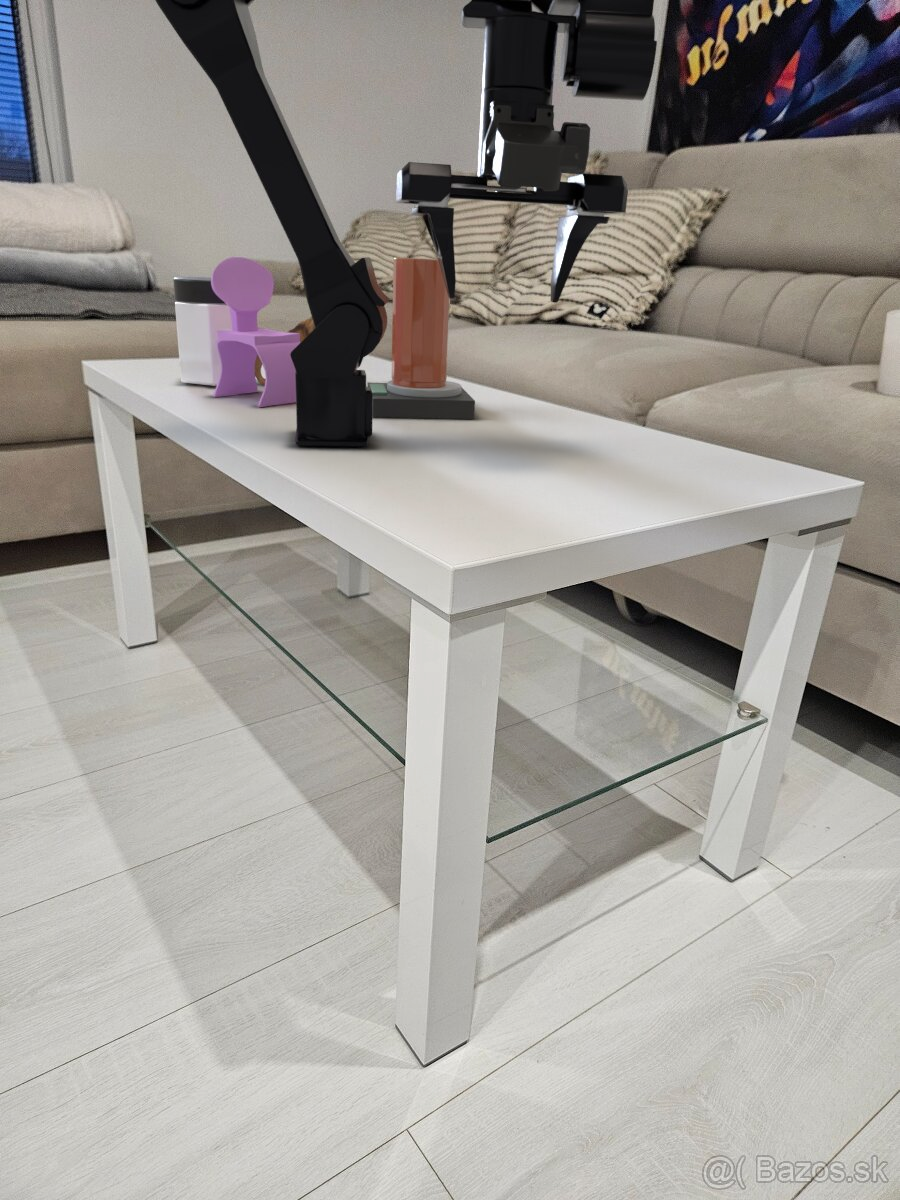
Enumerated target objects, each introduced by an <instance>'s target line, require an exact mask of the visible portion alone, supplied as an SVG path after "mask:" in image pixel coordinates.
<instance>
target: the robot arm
mask: <svg viewBox="0 0 900 1200" xmlns="http://www.w3.org/2000/svg"><path fill="white" fill-rule="evenodd" d="M154 1H155V3H156V4H157V6H158V8H159V9H160V11H161V12H162V13H163V15H164V17H165V18H166V19H167V21H168V22H169V24H170V25H171V27H172V28H173V30H174V31H175V33H176V34H177V36H178V37H179V38H180V40H181V42H182V43H183V44H184V46H185V47H186V48H187V50H188V51H189V52H190V54H191V56H192V57H193V58H194V59H195V60H196V62H197V63H198V65H199V66H200V67H201V69H202V70H203V71H204V73H205V74H206V76H207V77H208V78H209V80H210V82H211V83H212V84H213V86H214V87H215V89H216V90H217V92H218V95H219V97H220V99H221V101H222V103H223V106H224V107H225V110H226V112H227V114H228V115H229V117H230V120H231V121H232V122H231V123H232V124H233V126H234V128H235V130H236V132H237V134H238V136H239V139H240V141H241V143H242V145H243V147H244V149H245V151H246V153H247V155H248V157H249V159H250V161H251V164H252V165H253V168H254V170H255V172H256V174H257V176H258V178H259V180H260V183H261V184H262V187H263V189H264V191H265V193H266V195H267V197H268V200H269V201H270V204H271V205H272V208H273V210H274V212H275V214H276V216H277V219H278V221H279V223H280V224H281V227H282V229H283V231H284V233H285V235H286V238H287V239H288V241H289V244H290V246H291V248H292V250H293V252H294V254H295V256H296V258H297V262H298V264H299V268H300V274H301V279H302V283H303V288H304V292H305V297H306V301H307V305H308V307H309V311H310V315H311V316H312V319H313V322H314V326H315V329H314V330H313V331H312V332H311V333H310V334H309V335H308V336H307V337H306V338H305V339H304V340H303V341H302V342H301V343H300V344H299V345H298V346H297V347H296V348H295V349H294V350H293V351H292V352H291V354H290V356H291V359H292V362H293V364H294V367H295V370H296V372H295V382H296V402H295V417H296V429H295V437H294V445H296V446H301V447H302V446H307V447H308V446H309V447H310V446H311V447H312V446H313V447H368V446H369V439H368V438H370V437H372V436H373V416H372V412H373V393H372V390H371V388H370V387H368V386H367V373H366V370H365V369H358V368H360V367H361V365H362V363H363V361H364V358H365V357H367V356H368V355H370V354H371V353H372V352H374V350H375V349H376V348H377V347H378V345H379V344H380V342H381V341H382V340H383V338H384V336H385V333H386V330H387V326H388V315H387V311H386V307H385V306H386V304H388V303H389V302H390V298H389V297H388V296H387V294H386V293H385V292H383V290H382V289H381V286H380V285H379V283H378V280H377V277H376V273H375V269H374V266H373V261H372V258H371V257H370V256H366V257H361V258H360V259H358V260H357V261H356V262H355V261H354V259H353V257H352V256H351V255H350V254H349V252H348V251H347V249H346V248H345V247H344V245H343V244H342V242H341V240H340V238H339V236H338V233H337V232H336V229H335V227H334V224H333V222H332V219H330V217H329V214H328V212H327V210H326V208H325V205H324V203H323V201H322V199H321V196H320V194H319V192H318V190H317V188H316V185H315V183H314V181H313V179H312V177H311V174H310V172H309V169H308V168H307V165H306V163H305V161H304V159H303V157H302V155H301V152H300V150H299V147H298V145H297V143H296V141H295V139H294V137H293V134H292V133H291V130H290V128H289V125H288V124H287V121H286V119H285V117H284V115H283V113H282V110H281V108H280V106H279V104H278V101H277V100H276V97H275V95H274V93H273V91H272V88H271V86H270V84H269V82H268V79H267V77H266V73H265V71H264V68H263V64H262V63H263V62H262V58H261V54H260V49H259V44H258V39H257V35H256V31H255V27H254V23H253V21H252V17H251V13H250V10H249V6H250V5H251V4H253V2H254V1H255V0H154ZM654 4H655V0H470V1H469V2H468V3H467V4H465V5H464V6H463V7H462V12H461V25H462V26H463V28H467V29H481V30H482V29H483V30H484V35H483V37H484V38H483V54H482V55H483V56H482V57H483V58H482V74H481V75H482V77H481V93H480V114H479V131H478V132H479V135H478V152H477V171H476V172H477V173H476V175H460V174H452V165H451V164H445V163H429V162H416V161H415V162H413V161H408V162H407V163H406V164H405V165H403V167H402V168H401V169H400V170H399V171H397V174H396V191H395V193H396V195H395V198H396V199H395V201H396V202H395V203H397V204H407V205H414V207H412V208H410V209H411V210H410V211H411V212H410V213H411V216H418V217H421V218H422V220H423V222H424V225H425V227H426V229H427V232H428V234H429V238H430V239H431V242H432V245H433V247H434V250H435V253H436V258H437V260H438V261H439V265H440V268H441V272H442V275H443V279H444V283H445V286H446V290H447V294H448V297H449V298H450V300H451V299H455V297H456V296H455V295H456V281H457V277H456V260H455V242H454V241H455V239H454V218H455V207H449V202H450V199H451V200H467V201H468V200H469V201H485V202H501V203H502V202H503V203H519V204H520V203H521V204H536V205H537V204H538V205H551V206H552V205H554V206H565V207H566V211H565V212H566V213H565V216H559V217H558V222H557V230H556V238H555V244H554V245H555V246H554V254H553V260H552V261H553V262H552V271H551V278H550V302H551V303H555V304H557V303H558V302H559V301H560V298H561V296H562V293H563V292H564V291H563V290H564V288H565V286H566V283H567V281H568V279H569V276H570V273H571V271H572V269H573V266H574V264H575V262H576V260H577V257H578V255H579V253H580V252H581V249H582V247H583V246H584V244H585V242H586V240H587V239H588V237H589V236H590V235H591V234H592V232H593V231H594V230H595V228H596V227H597V226H598V225H607V224H608V223H609V221H610V216H606V215H616V214H617V215H618V214H625V213H626V212H627V204H628V195H629V190H628V184H627V182H626V180H625V178H624V177H623V175H615V174H602V173H601V174H600V173H599V174H598V173H585V172H586V169H587V164H588V160H589V155H590V154H589V153H590V143H591V140H590V139H591V127H590V126H589V124H588V123H585V122H573V121H564V122H563V123H562V125H561V128H560V130H555V126H554V120H555V119H554V118H555V112H554V110H555V109H554V108H555V105H553V94H554V93H553V92H554V82H555V81H554V79H555V70H556V69H555V68H556V58H557V57H556V55H557V42H558V34H559V33H560V34H563V40H562V41H563V42H562V49H561V58H560V81H561V82H564V83H565V87H571V95H572V97H573V98H589V99H605V100H621V101H622V100H626V101H643V100H644V99H645V97H646V96H647V94H648V90H649V89H650V88H649V87H650V84H651V82H652V81H651V80H652V76H653V71H654V67H655V62H656V54H657V46H658V42H657V40H655V38H656V37H655V36H656V22H655V17H654V15H653V14H654V13H653V12H654ZM533 7H534V8H535V9H536V10H537V11H534V10H533ZM563 174H570V175H572V176H568V177H567V179H566V181H561V180H562V175H563ZM488 182H496V183H497V184H498V185H488ZM528 188H533V190H531V189H528ZM527 189H528V190H527Z"/></svg>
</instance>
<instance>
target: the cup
mask: <svg viewBox="0 0 900 1200" xmlns="http://www.w3.org/2000/svg"><path fill="white" fill-rule="evenodd" d="M392 272H393V273H392V324H391V325H392V328H391V329H392V330H391V331H392V332H391V380H392V383H393V384H394V385H398V386H403V387H411V388H439V387H444V386H446V381H447V379H448V378H447V375H448V359H449V358H448V355H449V354H448V353H449V335H450V334H449V333H450V331H449V330H450V308H451V298H449V297H448V294H447V290H446V286H445V283H444V279H443V275H442V272H441V268H440V265H439V261H438V258H437V259H435V258H418V257H416V258H414V257H393V268H392Z"/></svg>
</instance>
